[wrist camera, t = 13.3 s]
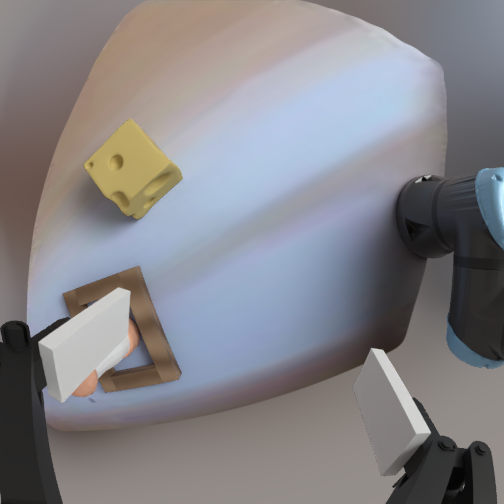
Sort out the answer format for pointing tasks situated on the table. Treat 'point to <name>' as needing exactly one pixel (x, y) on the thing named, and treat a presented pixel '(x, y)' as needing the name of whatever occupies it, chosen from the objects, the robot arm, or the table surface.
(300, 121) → the table surface
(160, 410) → the table surface
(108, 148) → the cheese
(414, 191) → the robot arm
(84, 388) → the salt shaker
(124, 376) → the rail frame
